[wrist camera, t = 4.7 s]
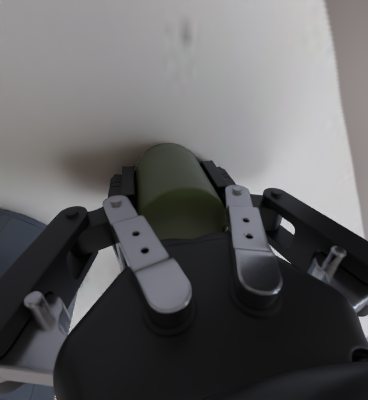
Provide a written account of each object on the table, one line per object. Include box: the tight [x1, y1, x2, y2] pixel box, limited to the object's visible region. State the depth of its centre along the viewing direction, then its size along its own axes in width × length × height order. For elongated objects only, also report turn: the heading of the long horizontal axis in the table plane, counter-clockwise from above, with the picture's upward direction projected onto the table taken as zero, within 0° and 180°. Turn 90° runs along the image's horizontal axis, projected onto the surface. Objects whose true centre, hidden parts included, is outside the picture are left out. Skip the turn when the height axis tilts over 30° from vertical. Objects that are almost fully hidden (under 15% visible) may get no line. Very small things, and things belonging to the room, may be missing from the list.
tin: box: [135, 143, 226, 240], centre depth 13 cm, size 4×4×6 cm
